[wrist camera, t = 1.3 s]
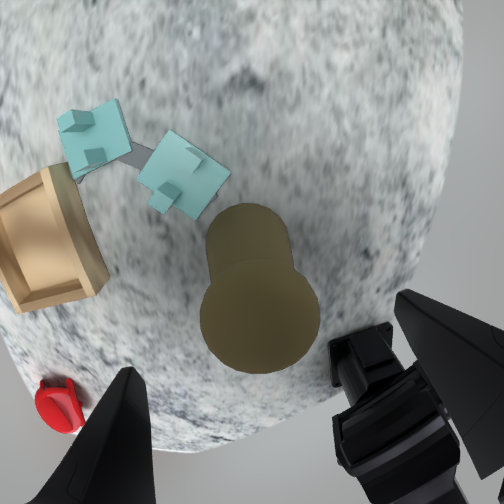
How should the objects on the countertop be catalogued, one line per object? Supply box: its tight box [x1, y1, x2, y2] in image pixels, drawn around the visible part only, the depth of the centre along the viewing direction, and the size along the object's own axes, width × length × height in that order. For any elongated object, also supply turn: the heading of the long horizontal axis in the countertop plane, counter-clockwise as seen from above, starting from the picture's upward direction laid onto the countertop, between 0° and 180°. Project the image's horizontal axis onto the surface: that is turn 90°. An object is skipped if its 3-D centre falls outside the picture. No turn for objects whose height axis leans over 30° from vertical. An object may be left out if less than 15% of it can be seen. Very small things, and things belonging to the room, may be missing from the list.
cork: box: [200, 203, 320, 374], centre depth 16 cm, size 6×6×11 cm
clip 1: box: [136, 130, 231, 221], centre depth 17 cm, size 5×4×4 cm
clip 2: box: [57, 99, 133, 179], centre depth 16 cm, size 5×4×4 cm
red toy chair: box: [35, 378, 86, 434], centre depth 24 cm, size 8×6×6 cm
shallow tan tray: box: [0, 162, 110, 314], centre depth 18 cm, size 10×10×3 cm
